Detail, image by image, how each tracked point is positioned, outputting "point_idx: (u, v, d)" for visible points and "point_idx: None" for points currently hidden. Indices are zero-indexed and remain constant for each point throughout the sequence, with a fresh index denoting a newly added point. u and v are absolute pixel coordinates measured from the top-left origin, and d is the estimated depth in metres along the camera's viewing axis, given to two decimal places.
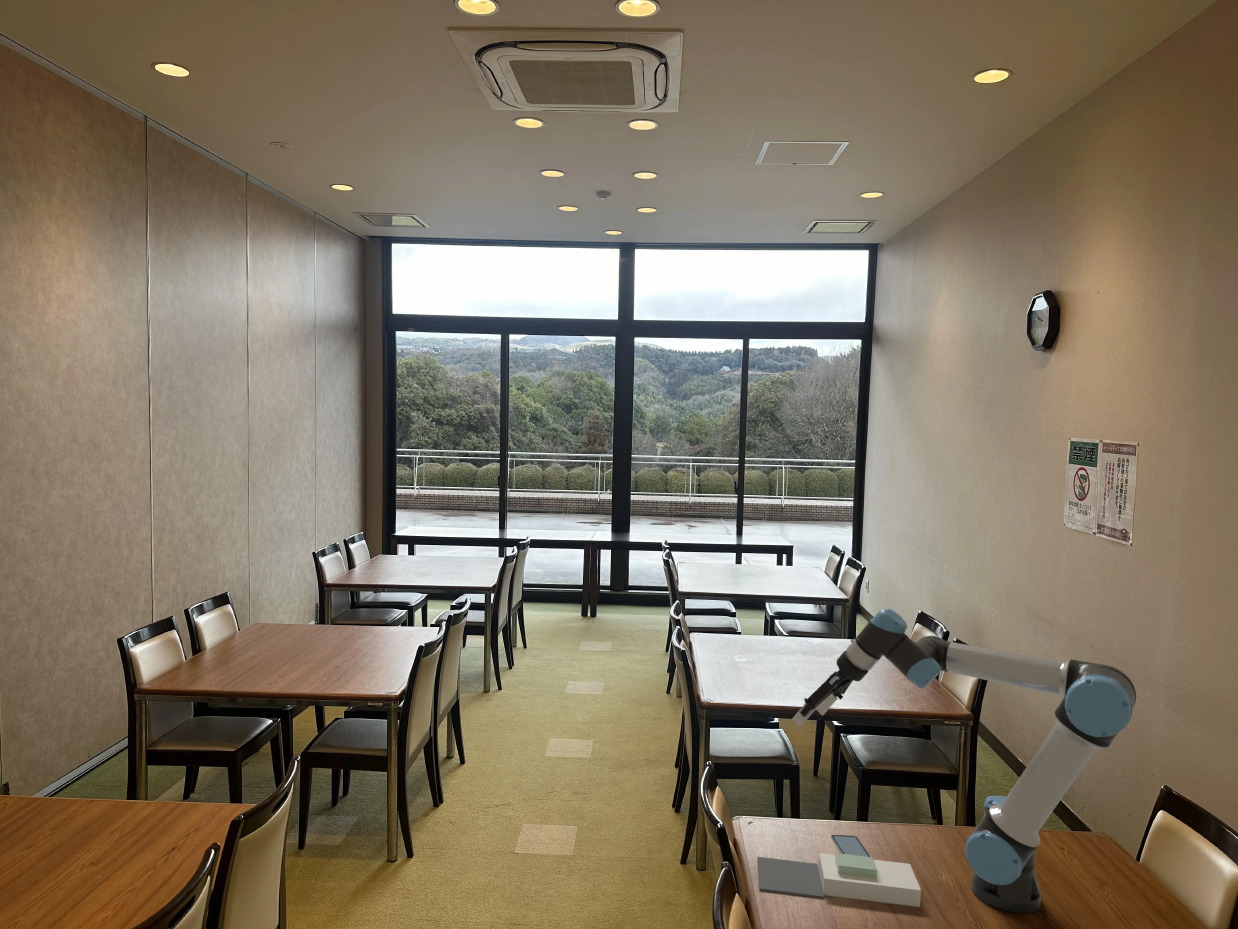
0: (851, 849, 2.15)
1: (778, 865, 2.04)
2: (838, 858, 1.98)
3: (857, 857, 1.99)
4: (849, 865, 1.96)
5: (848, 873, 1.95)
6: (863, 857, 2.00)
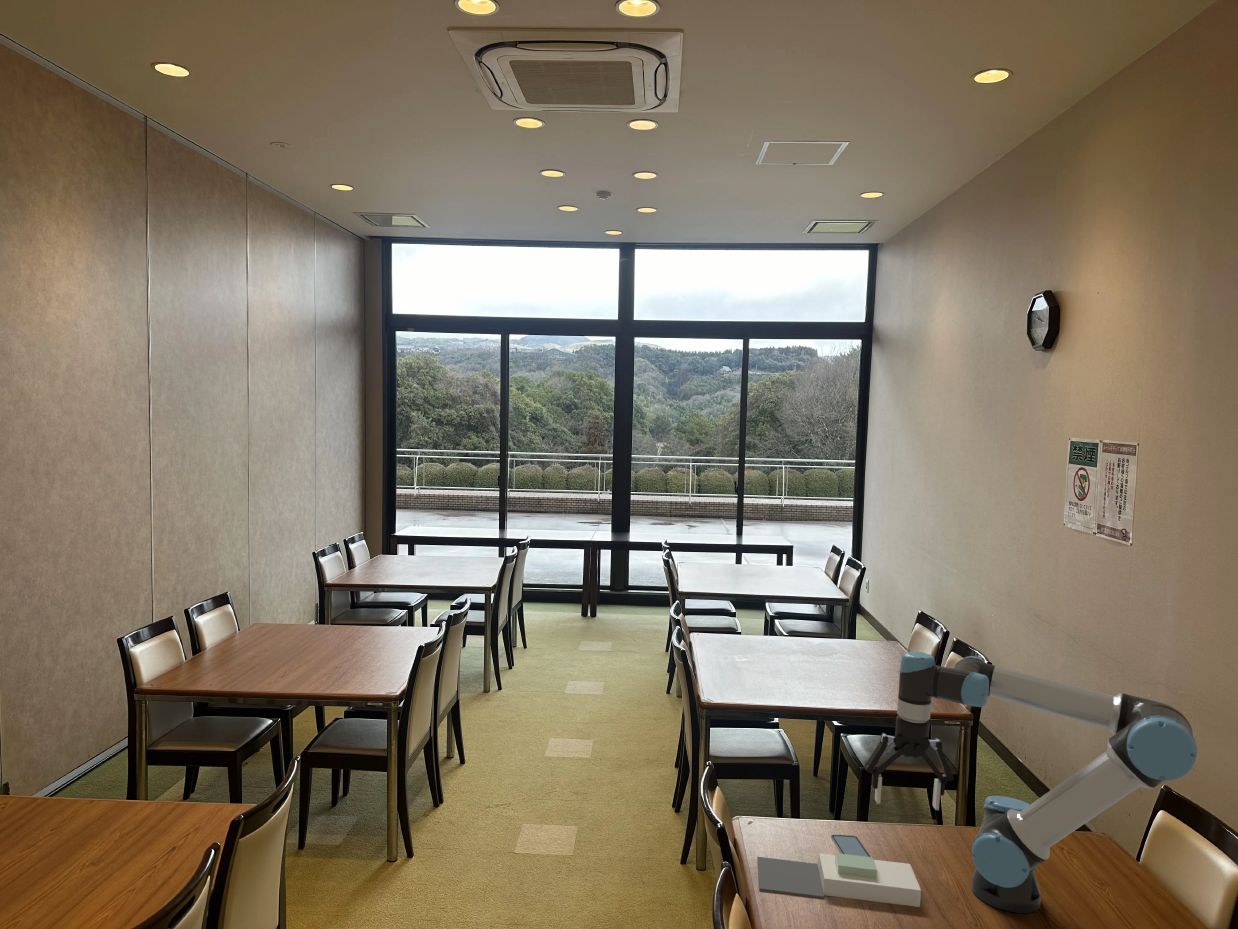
0: (851, 849, 2.15)
1: (778, 865, 2.04)
2: (838, 858, 1.98)
3: (857, 857, 1.99)
4: (849, 865, 1.96)
5: (848, 873, 1.95)
6: (863, 857, 2.00)
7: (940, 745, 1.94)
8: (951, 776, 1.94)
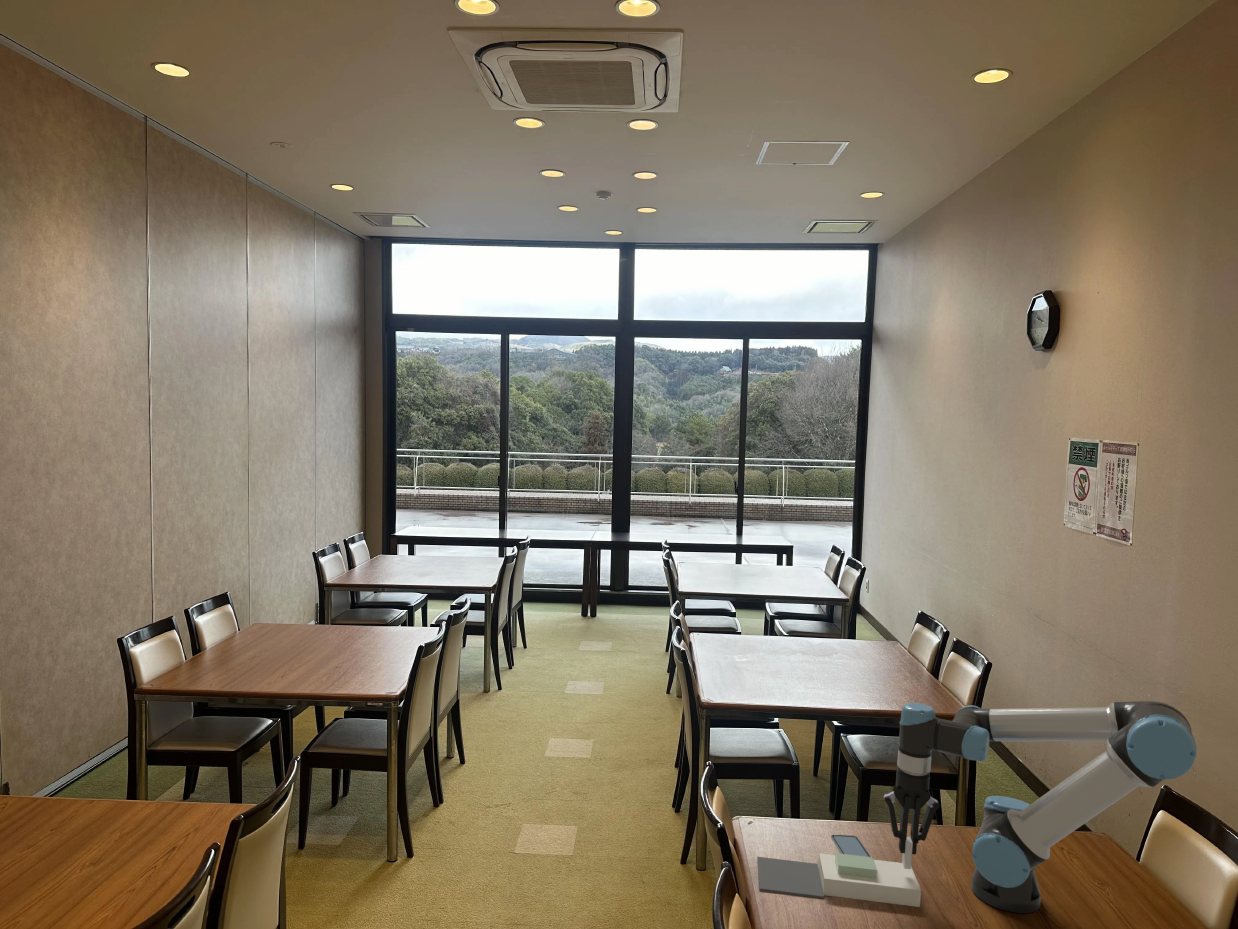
0: (851, 849, 2.15)
1: (778, 865, 2.04)
2: (838, 858, 1.98)
3: (857, 857, 1.99)
4: (849, 865, 1.96)
5: (848, 873, 1.95)
6: (863, 857, 2.00)
7: (937, 807, 1.93)
8: (924, 836, 1.94)
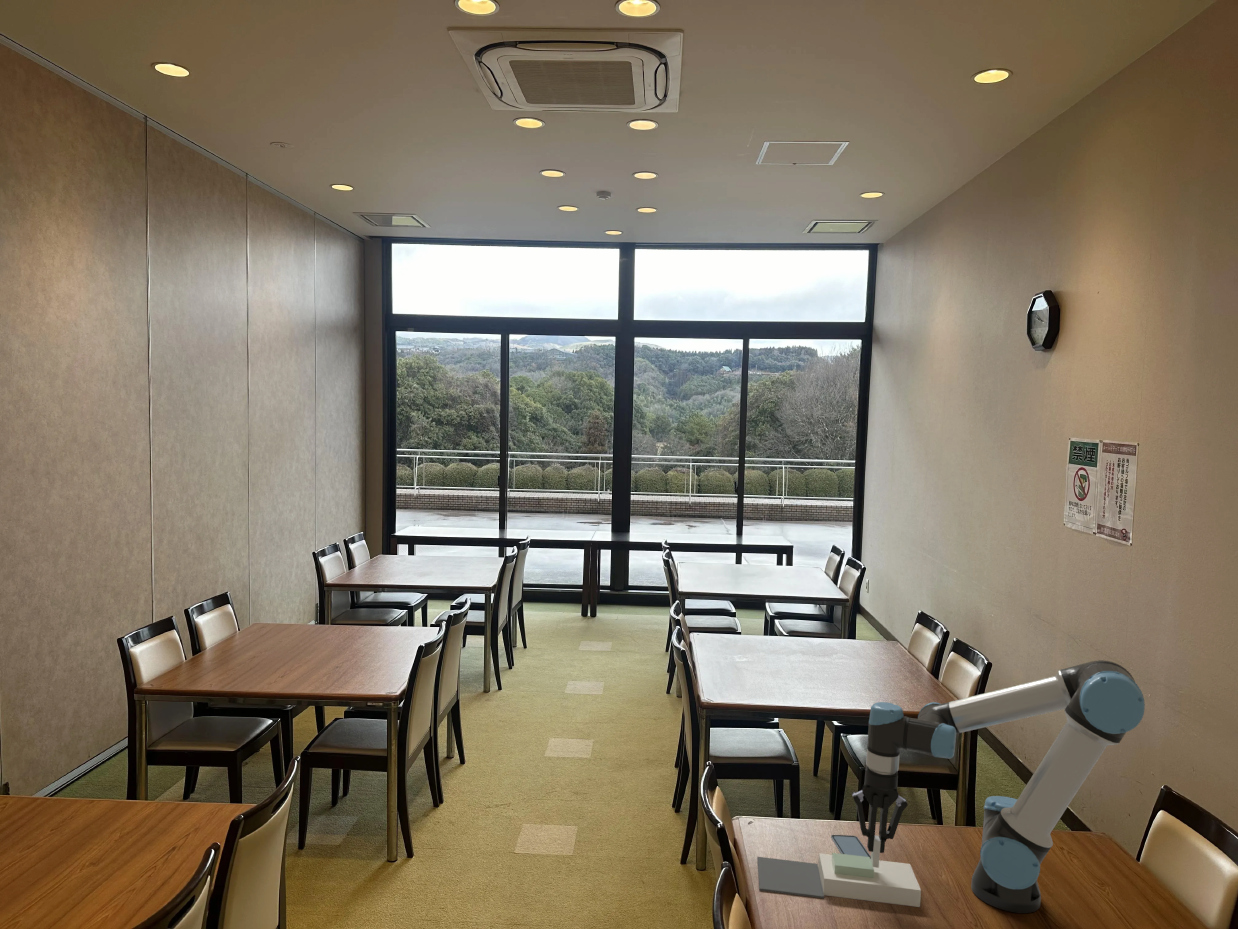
0: (851, 849, 2.15)
1: (778, 865, 2.04)
2: (835, 858, 1.98)
3: (854, 857, 1.99)
4: (845, 865, 1.96)
5: (845, 873, 1.95)
6: (860, 857, 2.00)
7: (905, 805, 1.94)
8: (892, 835, 1.95)
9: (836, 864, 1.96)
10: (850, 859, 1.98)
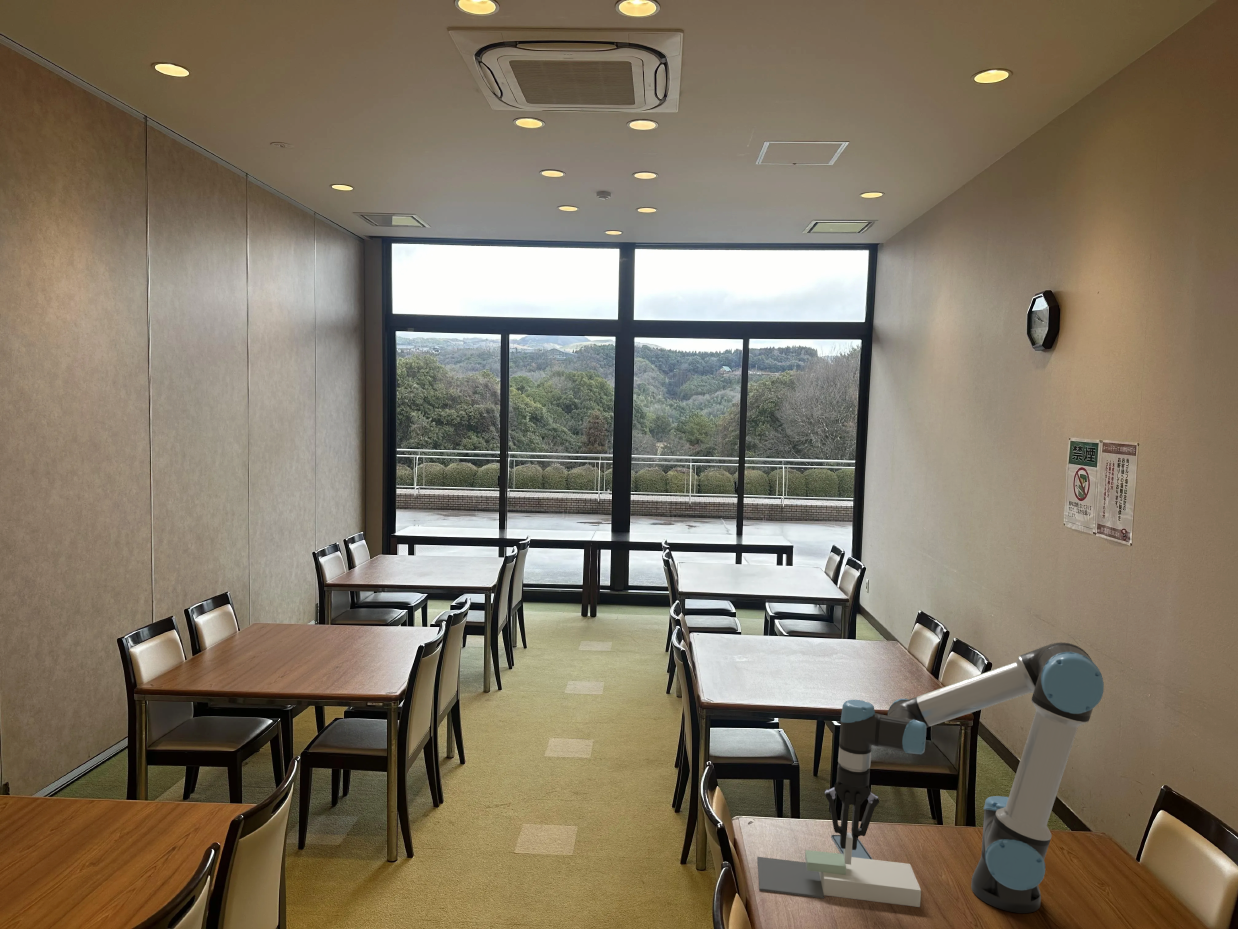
0: None
1: (778, 865, 2.04)
2: (808, 855, 1.99)
3: (827, 854, 2.00)
4: (818, 862, 1.96)
5: (817, 870, 1.96)
6: (833, 854, 2.00)
7: (876, 802, 1.95)
8: (864, 832, 1.96)
9: (808, 861, 1.96)
10: (823, 856, 1.99)
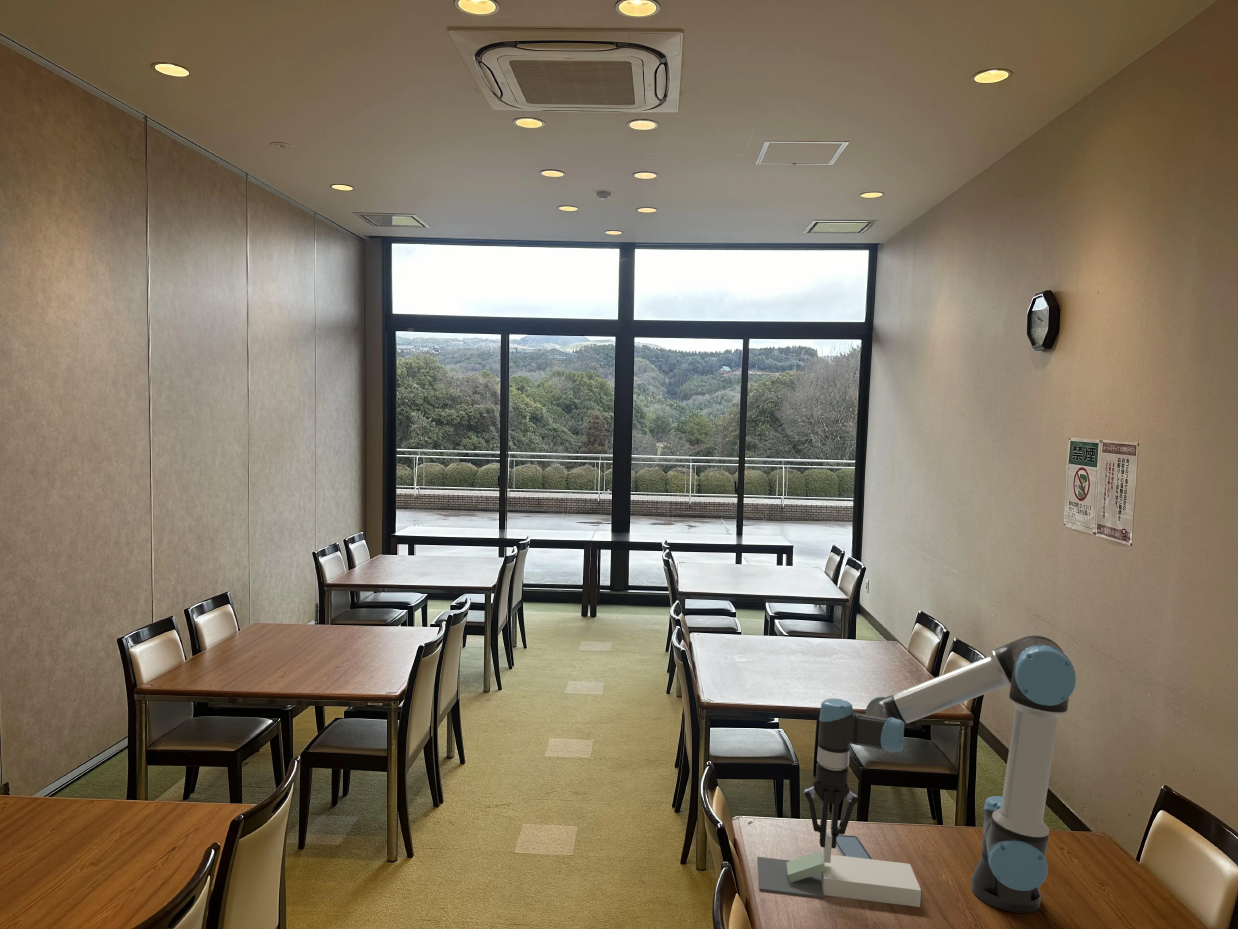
0: (851, 849, 2.15)
1: (778, 865, 2.04)
2: (788, 867, 2.00)
3: (806, 857, 2.01)
4: (797, 870, 1.97)
5: (800, 878, 1.96)
6: (811, 855, 2.01)
7: (855, 801, 1.96)
8: (844, 830, 1.97)
9: (789, 873, 1.97)
10: (802, 861, 2.00)
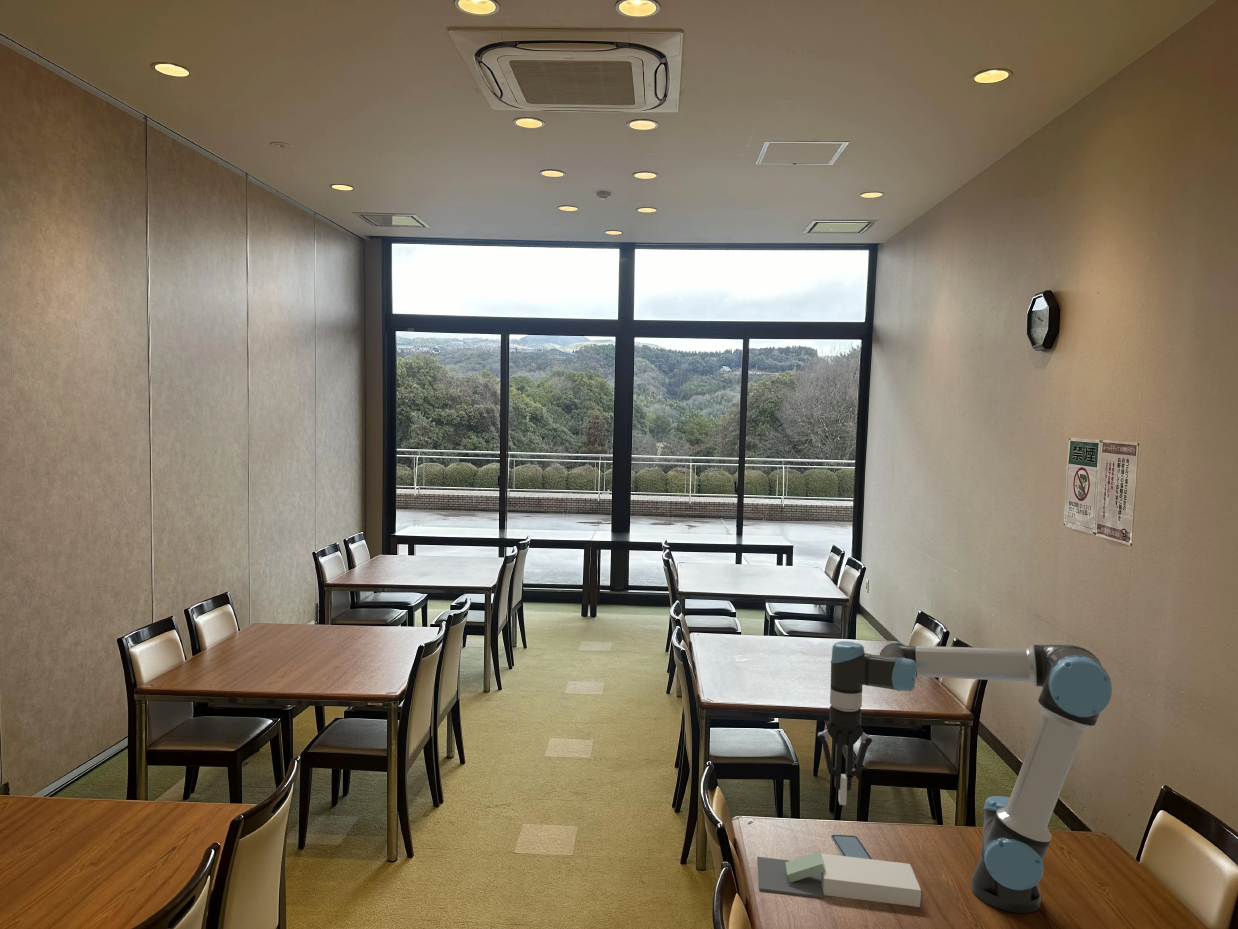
0: (851, 849, 2.15)
1: (778, 865, 2.04)
2: (787, 867, 2.00)
3: (805, 857, 2.01)
4: (796, 870, 1.97)
5: (799, 878, 1.96)
6: (811, 855, 2.01)
7: (869, 742, 1.97)
8: (858, 772, 1.97)
9: (788, 873, 1.97)
10: (801, 861, 2.00)
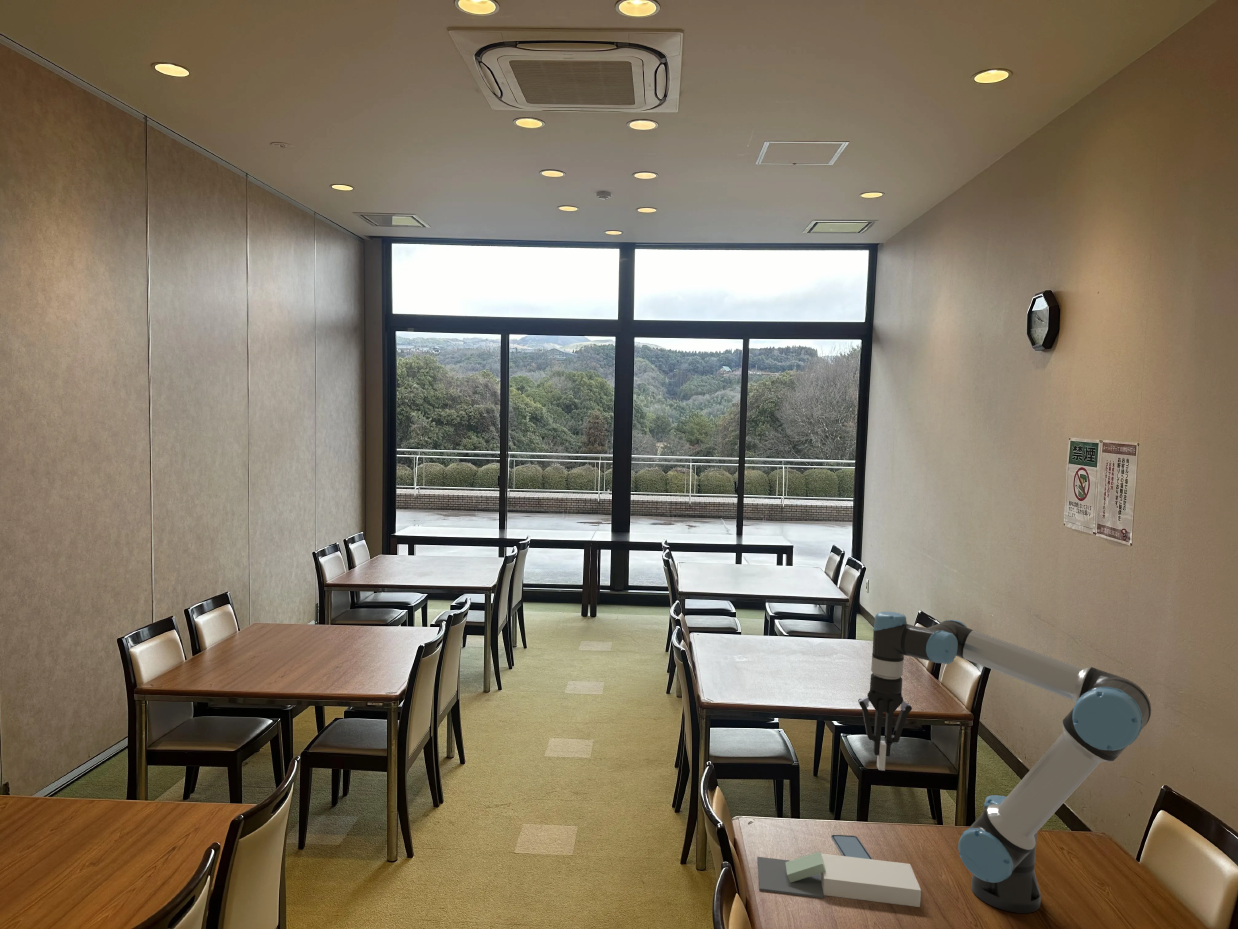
0: (851, 849, 2.15)
1: (778, 865, 2.04)
2: (787, 867, 2.00)
3: (805, 857, 2.01)
4: (796, 870, 1.97)
5: (799, 878, 1.96)
6: (811, 855, 2.01)
7: (909, 709, 2.01)
8: (898, 738, 2.02)
9: (788, 873, 1.97)
10: (801, 861, 2.00)
